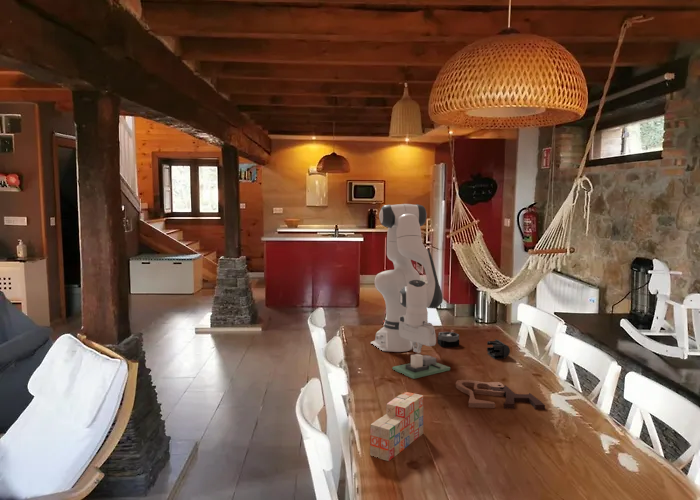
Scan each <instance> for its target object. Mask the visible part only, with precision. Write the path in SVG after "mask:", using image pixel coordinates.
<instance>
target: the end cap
mask: <svg viewBox="0 0 700 500" xmlns="http://www.w3.org/2000/svg"><path fill="white" fill-rule="evenodd" d="M486 343H487V344H486V345H487V346H491V345H492V346H491V347H486V351H487V355H488V356H490V357H491V358H492V359H494V360H504V359H506V358H507V357H508V356H509V355H510V353H511V349H510V347H509V346H508V345H507V344H505V343H504V342H503V341H501V340H499V339H494V340H490V341H489V340H488V341H487V342H486Z"/></svg>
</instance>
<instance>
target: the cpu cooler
mask: <svg viewBox="0 0 700 500" xmlns="http://www.w3.org/2000/svg"><path fill="white" fill-rule="evenodd" d="M436 344H438V345H439V346H440V348H442V347H443V348H454V347H455V348H458V347H460V334H458V333H456V332H453V331H440V332H438V335H437V338H436Z"/></svg>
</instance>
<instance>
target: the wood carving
mask: <svg viewBox="0 0 700 500" xmlns="http://www.w3.org/2000/svg"><path fill="white" fill-rule="evenodd" d="M468 387H473V390H472V389H470V388H468ZM455 388H456V389H457V390H458V391H459V392H462V393H464V394H466V395H468V396H469V399H468V408H477V409H478V408H479V409H480V408H482V409H496V403H495V402H494V401H488V400H483V399H482V400H481V399H476V397H475V394H476V395H484V396H485V395H486V396H492V397H493V396H494V397H505V402H504V404H503V409H511V410H512V409H515V403H529V404H530V405H531V406H532V407H533V408H534V410H542V411H543V410H546V405H545V403H543V401H541V400H540V399H539V398H537V397H536V396H534V395H533V394H532V393H530V392H529V393H527V394H525V393H523V394H521V393H515V392H513V391H512V389H511V388H510V387H508V386H507V385H506V384H503V383H502V382H499V381H491V382H485V381H479V380H472V379H460V380H459V379H458V380H456V382H455ZM482 388H484V389H482Z"/></svg>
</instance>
